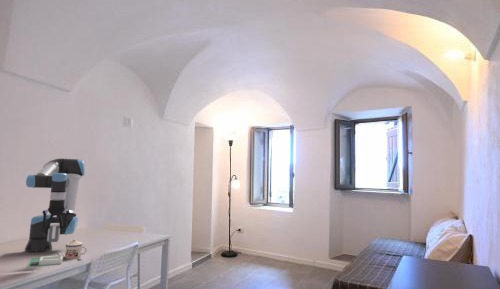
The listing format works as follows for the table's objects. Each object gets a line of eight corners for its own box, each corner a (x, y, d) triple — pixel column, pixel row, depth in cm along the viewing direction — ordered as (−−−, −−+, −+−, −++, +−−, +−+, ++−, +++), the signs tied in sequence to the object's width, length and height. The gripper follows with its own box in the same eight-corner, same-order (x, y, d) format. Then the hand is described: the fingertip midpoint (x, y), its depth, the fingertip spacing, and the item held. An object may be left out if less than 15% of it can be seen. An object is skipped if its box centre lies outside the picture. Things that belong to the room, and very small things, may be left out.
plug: (49, 240, 183) (51, 223, 184) (58, 240, 185) (59, 223, 186) (48, 242, 178) (50, 224, 179) (57, 242, 180) (59, 224, 181)
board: (31, 260, 187) (32, 254, 187) (62, 258, 194) (63, 252, 194) (26, 269, 171) (26, 263, 171) (60, 266, 178) (60, 260, 178)
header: (40, 261, 182) (41, 256, 182) (62, 259, 187) (63, 255, 187) (38, 265, 175) (39, 260, 175) (61, 263, 180) (62, 258, 180)
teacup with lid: (62, 260, 188) (64, 241, 189) (66, 256, 197) (68, 237, 198) (84, 260, 191) (85, 241, 192) (87, 256, 200) (89, 237, 201)
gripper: (38, 200, 177) (34, 242, 175) (74, 200, 185) (70, 240, 182) (40, 198, 183) (36, 239, 181) (74, 198, 191) (70, 238, 189)
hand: (53, 240), depth 182 cm, fingers closed on plug, 4 cm apart
